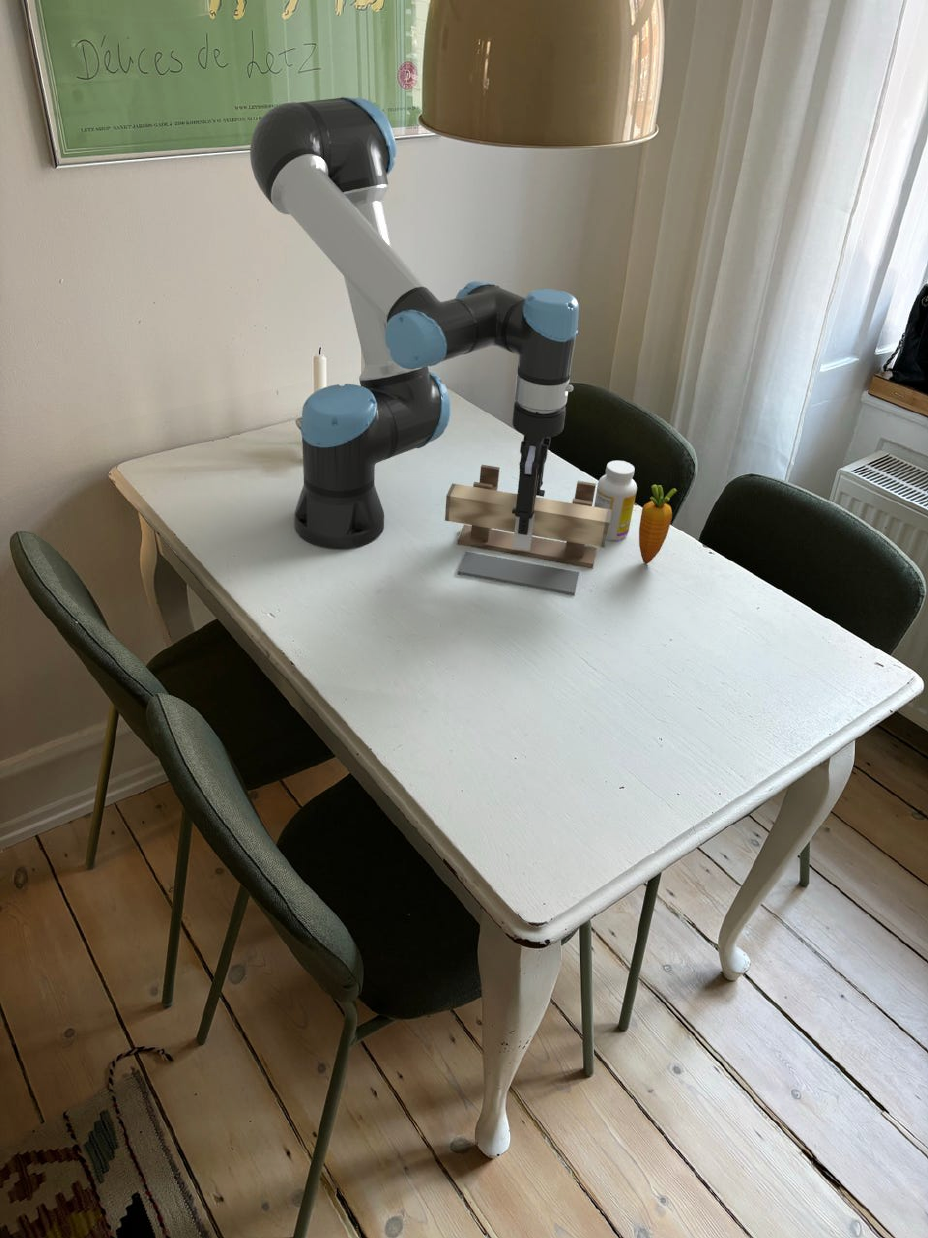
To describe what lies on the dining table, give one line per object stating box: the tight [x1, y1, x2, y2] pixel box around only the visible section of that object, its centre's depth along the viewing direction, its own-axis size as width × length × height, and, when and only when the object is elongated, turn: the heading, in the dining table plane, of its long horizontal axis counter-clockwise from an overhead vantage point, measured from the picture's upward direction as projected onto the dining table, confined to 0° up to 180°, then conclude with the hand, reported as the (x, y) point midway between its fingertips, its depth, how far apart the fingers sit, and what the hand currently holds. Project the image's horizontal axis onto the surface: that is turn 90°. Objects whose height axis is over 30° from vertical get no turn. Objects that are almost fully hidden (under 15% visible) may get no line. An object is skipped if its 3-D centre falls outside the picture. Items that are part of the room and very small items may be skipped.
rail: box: [444, 483, 612, 549], centre depth 151 cm, size 25×4×4 cm, turn 78°
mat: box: [457, 551, 580, 596], centre depth 158 cm, size 19×6×1 cm, turn 78°
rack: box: [456, 464, 598, 570], centre depth 160 cm, size 23×7×12 cm, turn 78°
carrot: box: [638, 484, 677, 565], centre depth 159 cm, size 5×5×15 cm
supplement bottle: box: [593, 460, 638, 542], centre depth 167 cm, size 7×7×13 cm
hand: (524, 540), depth 154 cm, fingers closed on rail, 4 cm apart
